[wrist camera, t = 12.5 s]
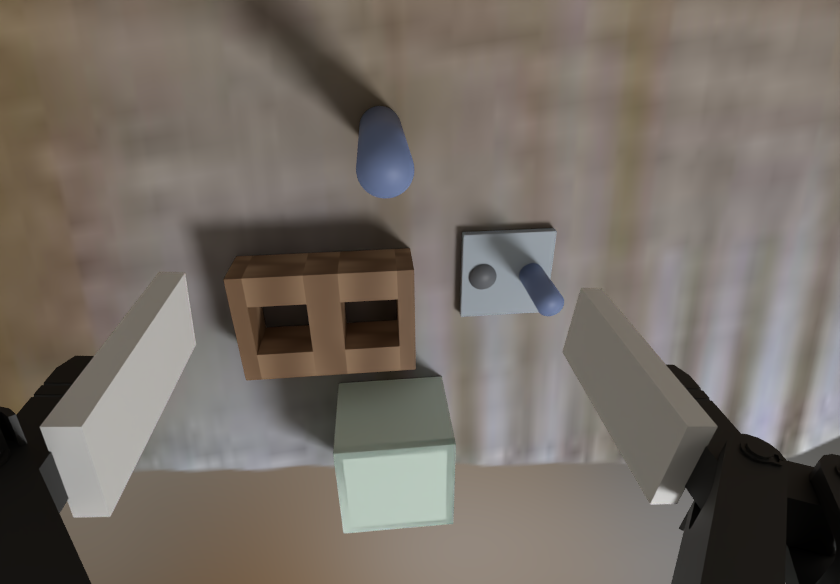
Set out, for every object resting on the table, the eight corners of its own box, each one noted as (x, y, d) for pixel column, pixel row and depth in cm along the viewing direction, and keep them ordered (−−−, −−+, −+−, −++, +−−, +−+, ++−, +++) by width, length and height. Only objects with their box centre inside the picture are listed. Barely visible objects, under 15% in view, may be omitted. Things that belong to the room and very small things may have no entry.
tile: (459, 312, 38) (471, 350, 34) (462, 232, 35) (475, 262, 31) (543, 307, 39) (566, 344, 34) (554, 228, 35) (580, 257, 31)
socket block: (255, 351, 38) (246, 380, 35) (236, 256, 34) (223, 279, 31) (411, 341, 39) (415, 369, 36) (409, 248, 35) (413, 270, 32)
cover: (347, 457, 44) (343, 533, 38) (338, 383, 40) (333, 453, 34) (440, 450, 45) (453, 523, 38) (441, 376, 41) (455, 444, 34)
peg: (377, 96, 30) (381, 127, 21) (409, 125, 31) (425, 166, 22) (350, 130, 31) (344, 173, 22) (383, 157, 32) (389, 209, 23)
